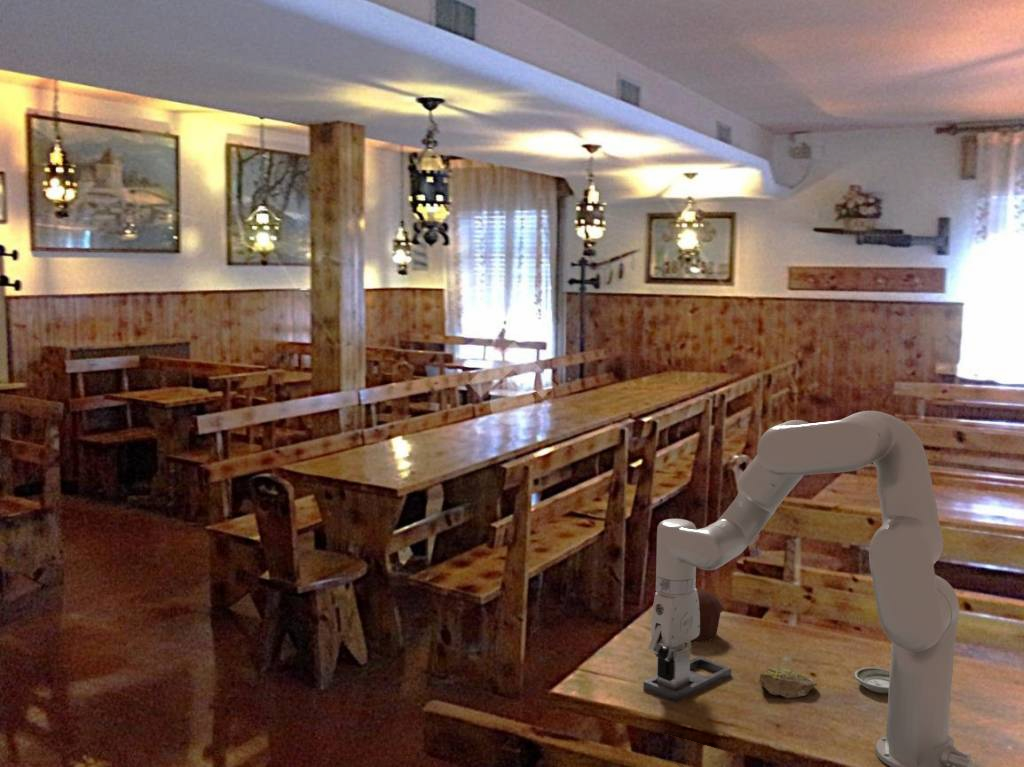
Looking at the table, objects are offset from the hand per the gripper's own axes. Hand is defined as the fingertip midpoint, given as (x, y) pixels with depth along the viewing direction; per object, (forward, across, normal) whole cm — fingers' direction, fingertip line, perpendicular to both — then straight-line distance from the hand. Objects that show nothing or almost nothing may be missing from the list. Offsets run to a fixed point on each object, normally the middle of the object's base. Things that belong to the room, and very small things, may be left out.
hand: (673, 673), depth 187 cm
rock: (+4, +18, -15) cm, 23 cm away
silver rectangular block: (+2, 0, 0) cm, 2 cm away
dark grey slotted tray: (+3, +5, 0) cm, 6 cm away
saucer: (+4, +31, -27) cm, 41 cm away
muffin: (+4, +27, +14) cm, 31 cm away
